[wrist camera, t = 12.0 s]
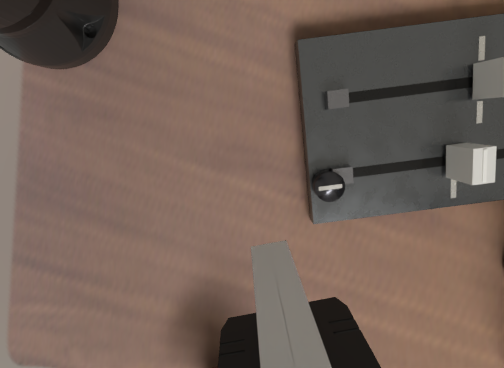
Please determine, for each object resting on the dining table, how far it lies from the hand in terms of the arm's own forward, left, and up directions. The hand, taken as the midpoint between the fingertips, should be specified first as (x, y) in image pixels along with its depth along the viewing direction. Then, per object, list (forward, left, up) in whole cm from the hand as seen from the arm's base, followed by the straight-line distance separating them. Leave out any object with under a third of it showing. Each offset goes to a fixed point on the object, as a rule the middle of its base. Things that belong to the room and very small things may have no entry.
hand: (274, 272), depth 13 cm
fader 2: (-7, +28, -25) cm, 38 cm away
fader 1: (+2, +25, -25) cm, 35 cm away
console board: (-3, +22, -27) cm, 35 cm away
